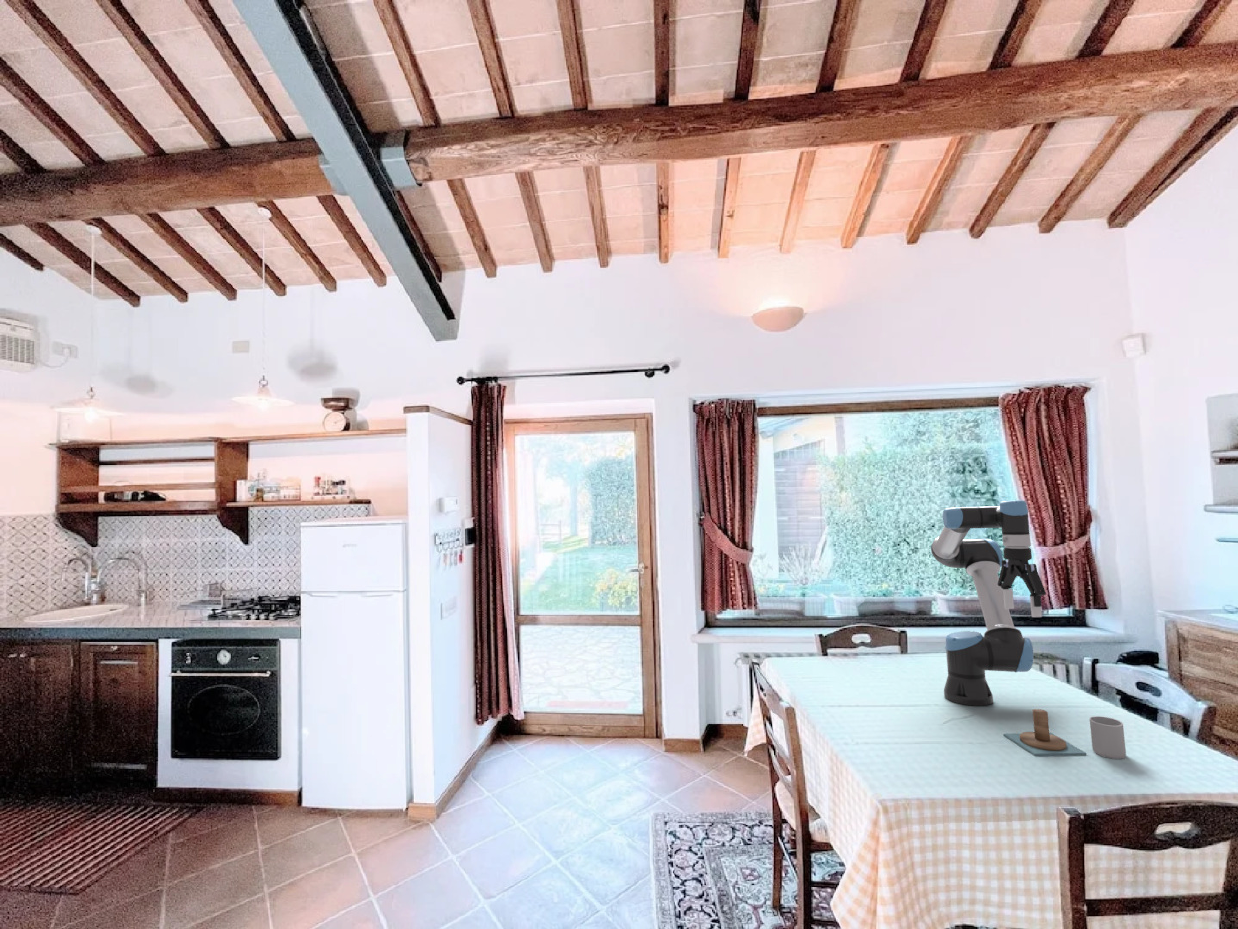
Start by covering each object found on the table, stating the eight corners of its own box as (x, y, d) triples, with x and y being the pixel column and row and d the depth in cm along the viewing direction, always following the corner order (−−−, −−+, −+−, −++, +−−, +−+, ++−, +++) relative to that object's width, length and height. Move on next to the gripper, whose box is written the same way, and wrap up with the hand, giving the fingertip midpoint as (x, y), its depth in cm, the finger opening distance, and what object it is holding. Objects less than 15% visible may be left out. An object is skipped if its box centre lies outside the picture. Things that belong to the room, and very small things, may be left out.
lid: (1011, 735, 172) (1008, 705, 172) (1048, 734, 171) (1045, 704, 172) (1036, 751, 161) (1033, 719, 161) (1076, 750, 160) (1073, 718, 161)
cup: (1100, 758, 156) (1097, 725, 157) (1082, 743, 166) (1079, 712, 167) (1132, 760, 154) (1128, 727, 155) (1112, 745, 164) (1109, 713, 165)
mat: (1003, 735, 173) (1003, 733, 173) (1050, 734, 172) (1050, 732, 172) (1034, 756, 159) (1034, 753, 159) (1086, 755, 159) (1086, 752, 159)
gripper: (982, 544, 199) (987, 606, 197) (1030, 551, 174) (1036, 621, 173) (1004, 544, 198) (1010, 605, 197) (1055, 550, 174) (1062, 620, 172)
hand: (1022, 612), depth 185 cm, fingers open, 13 cm apart
